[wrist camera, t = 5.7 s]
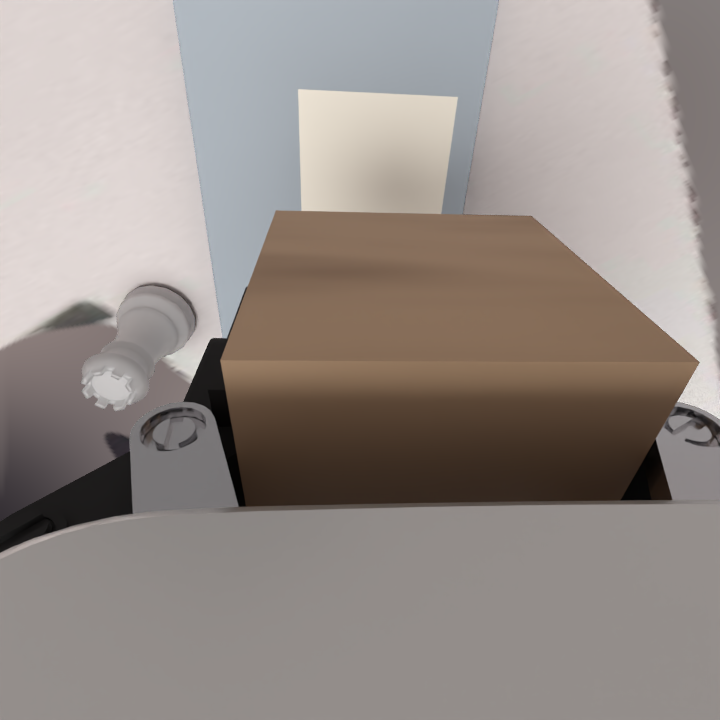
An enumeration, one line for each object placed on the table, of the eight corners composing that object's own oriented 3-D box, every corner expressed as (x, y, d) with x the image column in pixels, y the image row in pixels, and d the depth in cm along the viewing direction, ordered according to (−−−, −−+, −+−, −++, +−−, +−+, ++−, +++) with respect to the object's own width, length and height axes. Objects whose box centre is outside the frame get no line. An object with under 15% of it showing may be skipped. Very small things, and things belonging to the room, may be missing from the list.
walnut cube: (482, 407, 14) (561, 602, 9) (290, 408, 14) (264, 610, 9) (531, 216, 11) (699, 362, 6) (275, 210, 10) (220, 360, 5)
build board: (433, 358, 31) (436, 368, 30) (230, 354, 30) (226, 365, 29) (498, -41, 20) (507, -47, 19) (171, -63, 19) (162, -70, 18)
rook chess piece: (151, 267, 27) (89, 336, 20) (211, 315, 29) (173, 392, 22) (110, 313, 28) (40, 390, 22) (170, 355, 30) (123, 438, 24)
